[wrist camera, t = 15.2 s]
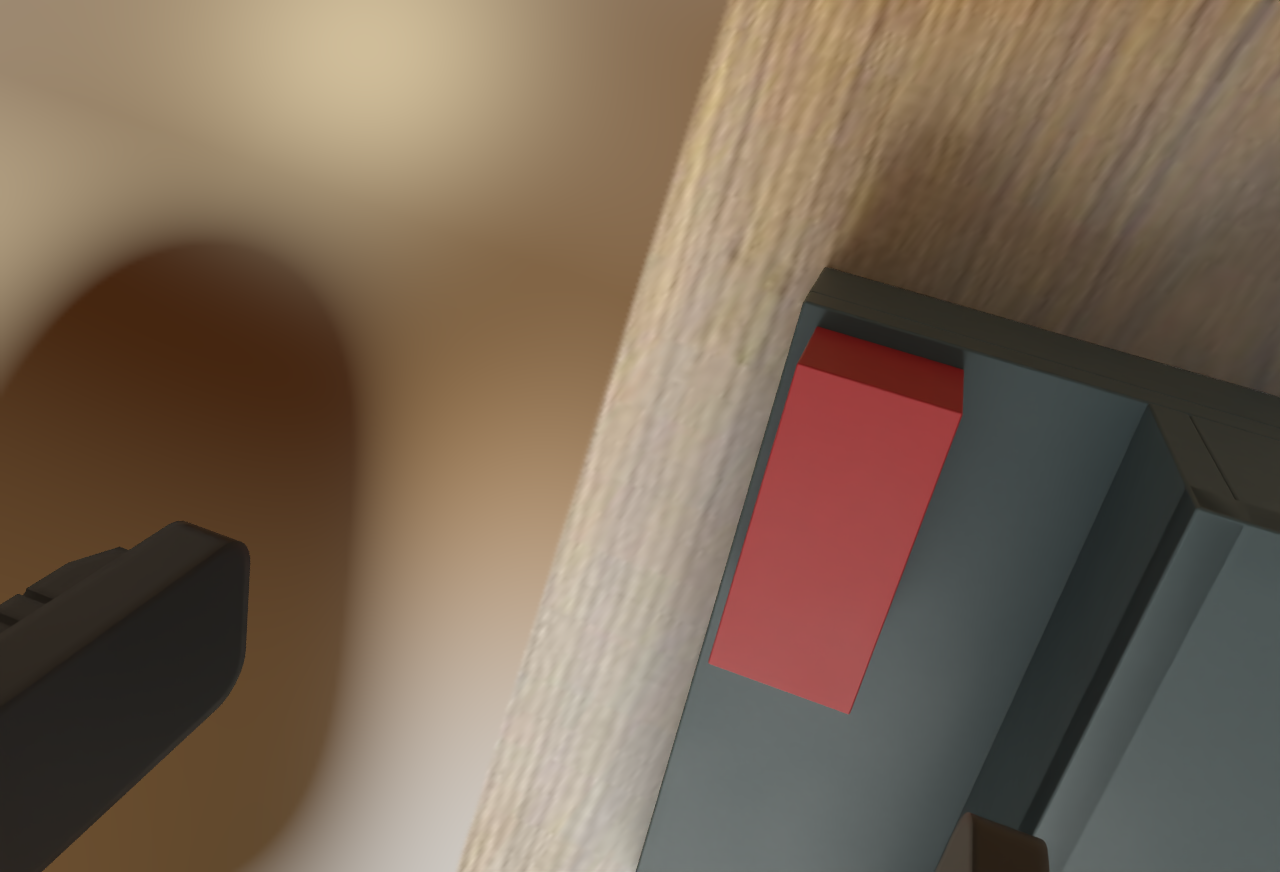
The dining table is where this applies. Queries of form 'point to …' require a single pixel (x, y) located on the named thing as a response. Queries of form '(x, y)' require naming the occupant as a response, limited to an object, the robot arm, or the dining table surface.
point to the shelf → (1023, 630)
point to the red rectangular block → (837, 515)
